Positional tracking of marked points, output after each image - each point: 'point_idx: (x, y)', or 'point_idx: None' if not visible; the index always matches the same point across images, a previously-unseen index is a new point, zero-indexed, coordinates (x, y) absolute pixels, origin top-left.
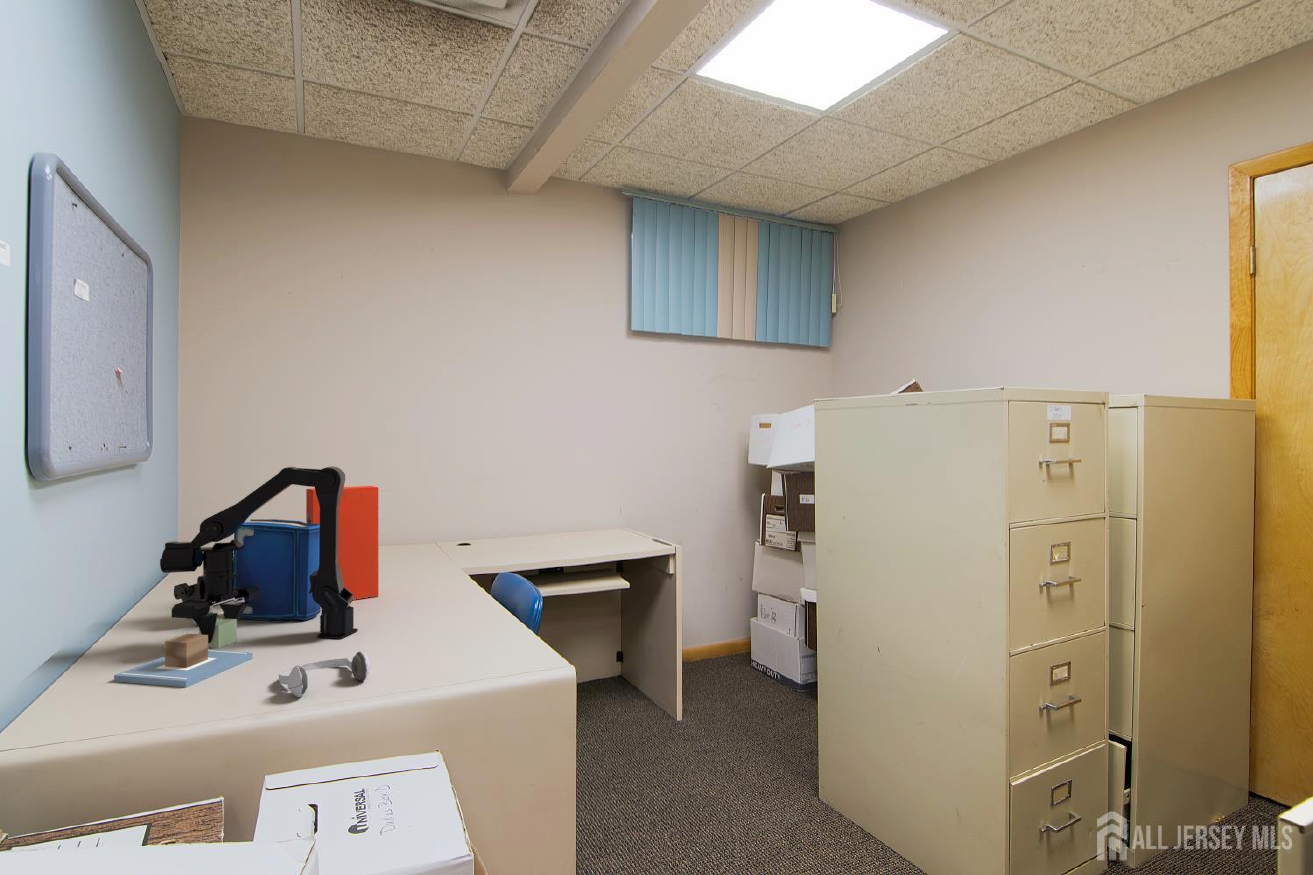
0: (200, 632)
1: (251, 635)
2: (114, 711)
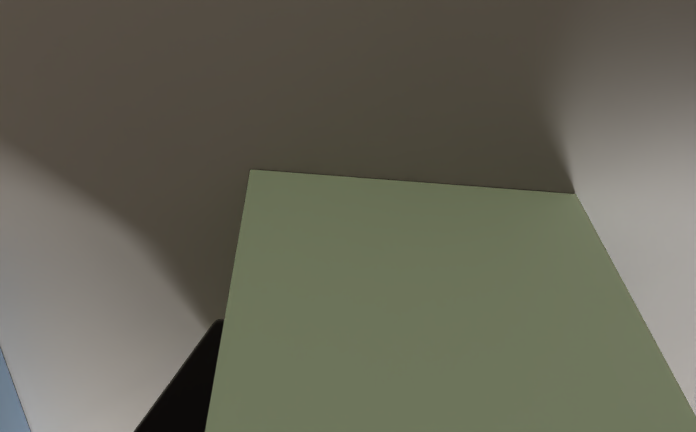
0: (220, 354)
1: None
2: None
